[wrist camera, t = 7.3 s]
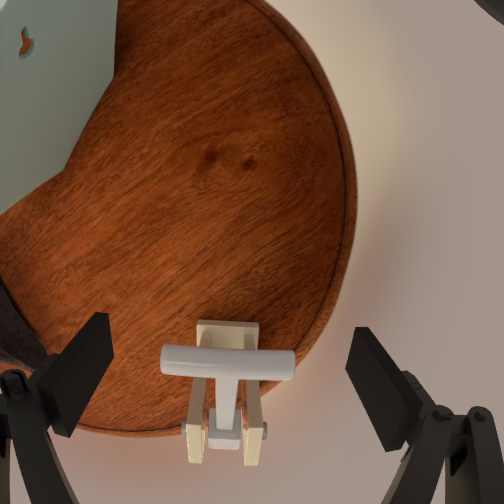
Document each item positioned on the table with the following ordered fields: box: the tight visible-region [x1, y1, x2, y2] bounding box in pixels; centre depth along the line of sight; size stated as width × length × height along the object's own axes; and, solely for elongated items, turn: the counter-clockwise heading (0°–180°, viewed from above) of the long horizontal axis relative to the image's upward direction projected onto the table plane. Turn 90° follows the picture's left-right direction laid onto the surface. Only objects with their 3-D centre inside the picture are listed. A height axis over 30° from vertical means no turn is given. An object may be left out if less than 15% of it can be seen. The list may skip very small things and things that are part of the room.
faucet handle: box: [160, 344, 296, 450], centre depth 17 cm, size 12×6×2 cm, turn 176°
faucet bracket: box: [182, 319, 267, 466], centre depth 25 cm, size 6×6×14 cm
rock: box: [0, 283, 48, 373], centre depth 26 cm, size 7×18×9 cm, turn 31°
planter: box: [0, 0, 118, 215], centre depth 16 cm, size 17×8×21 cm
